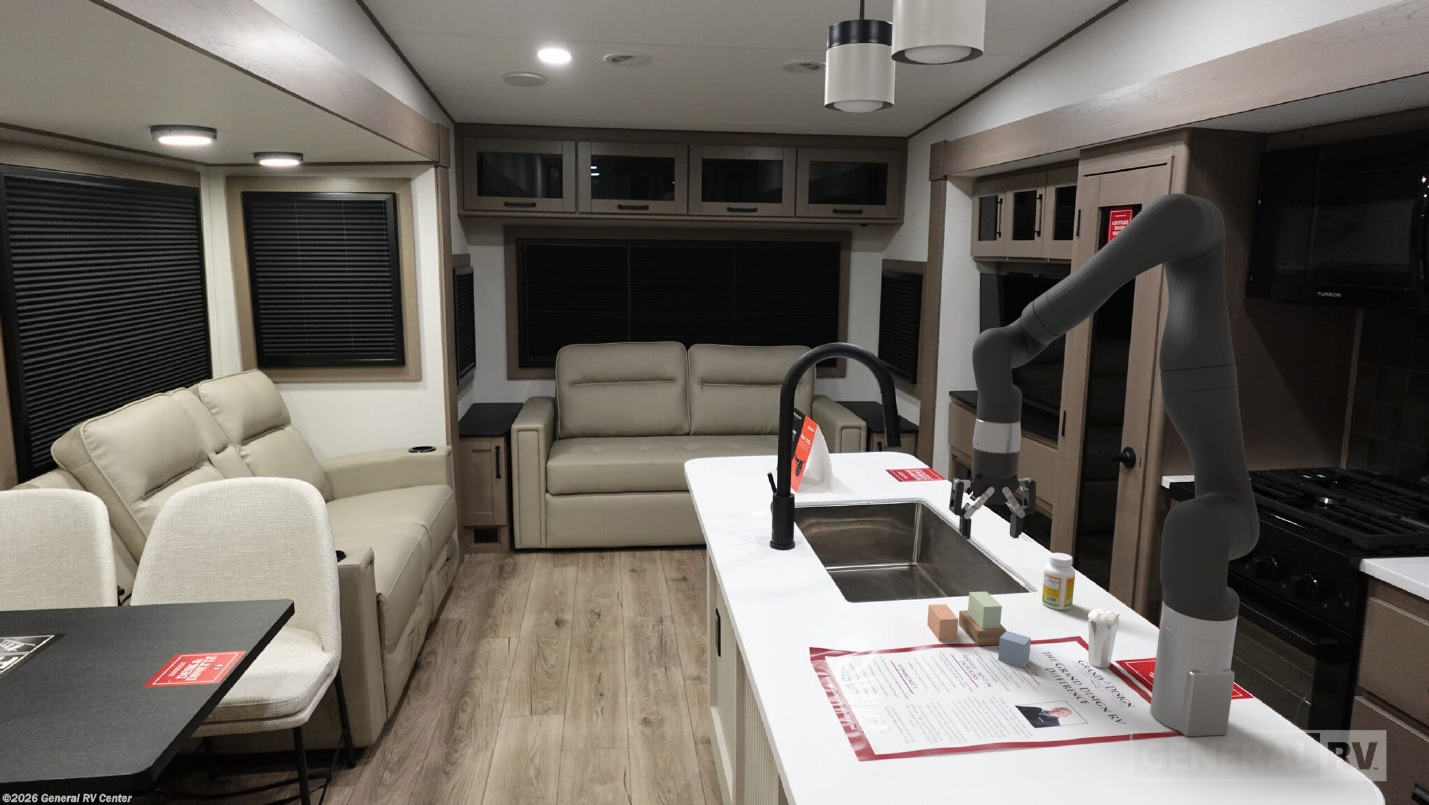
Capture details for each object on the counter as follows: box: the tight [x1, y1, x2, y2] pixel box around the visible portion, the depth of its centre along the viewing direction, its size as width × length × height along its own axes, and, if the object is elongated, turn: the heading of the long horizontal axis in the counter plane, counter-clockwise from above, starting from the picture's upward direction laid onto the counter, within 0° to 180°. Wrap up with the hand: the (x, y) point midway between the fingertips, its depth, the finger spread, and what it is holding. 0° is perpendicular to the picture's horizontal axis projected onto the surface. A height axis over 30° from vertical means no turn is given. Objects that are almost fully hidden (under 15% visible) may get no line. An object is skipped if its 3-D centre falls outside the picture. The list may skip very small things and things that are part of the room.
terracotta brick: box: [926, 603, 959, 642], centre depth 148 cm, size 6×3×4 cm, turn 5°
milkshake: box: [1087, 608, 1120, 669], centre depth 136 cm, size 4×5×10 cm
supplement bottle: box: [1041, 552, 1076, 611], centre depth 159 cm, size 5×5×10 cm
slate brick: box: [997, 630, 1032, 668], centre depth 138 cm, size 4×3×4 cm
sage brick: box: [967, 591, 1003, 629], centre depth 147 cm, size 6×3×4 cm, turn 7°
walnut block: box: [958, 609, 1007, 646], centre depth 148 cm, size 8×5×3 cm, turn 7°
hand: (990, 537), depth 144 cm, fingers open, 8 cm apart
